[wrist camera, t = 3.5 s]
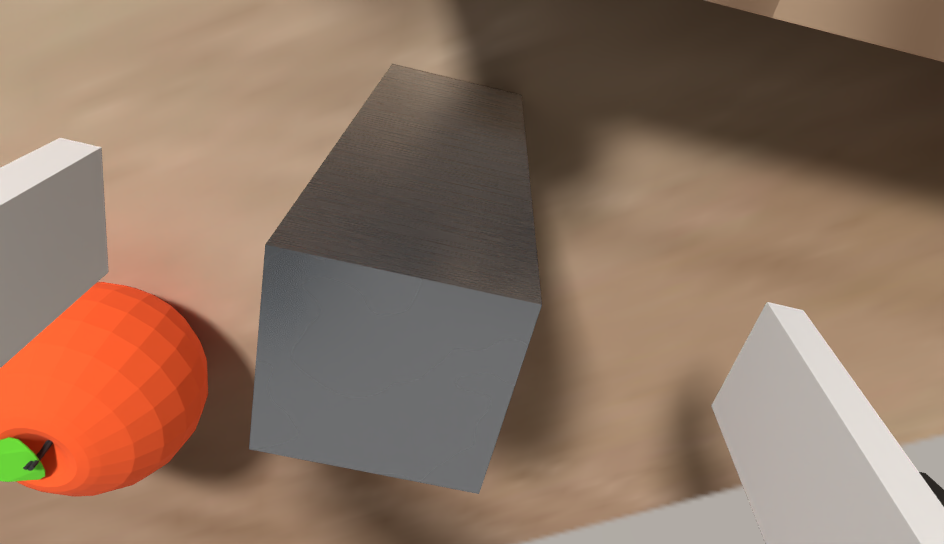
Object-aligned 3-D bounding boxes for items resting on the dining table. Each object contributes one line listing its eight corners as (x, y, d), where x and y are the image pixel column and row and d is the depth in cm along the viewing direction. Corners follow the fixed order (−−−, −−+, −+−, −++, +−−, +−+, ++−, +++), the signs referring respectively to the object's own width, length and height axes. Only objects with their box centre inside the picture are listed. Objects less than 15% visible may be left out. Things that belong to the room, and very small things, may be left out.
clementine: (86, 414, 27) (-38, 565, 21) (-10, 270, 24) (-190, 399, 18) (265, 384, 26) (190, 535, 20) (190, 229, 23) (72, 351, 16)
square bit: (372, 185, 22) (248, 449, 11) (392, 63, 20) (265, 244, 9) (490, 212, 22) (478, 493, 11) (521, 95, 20) (541, 304, 9)
